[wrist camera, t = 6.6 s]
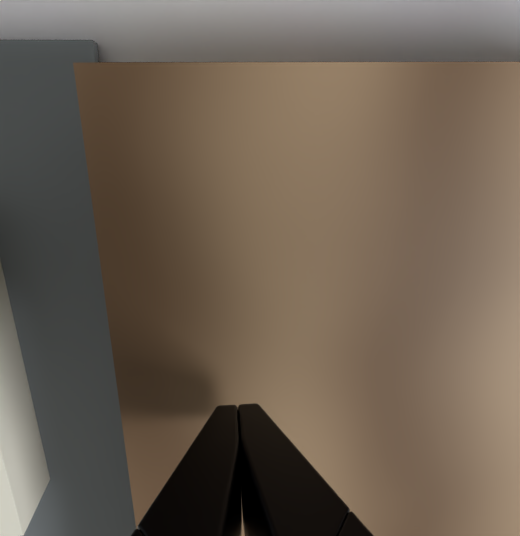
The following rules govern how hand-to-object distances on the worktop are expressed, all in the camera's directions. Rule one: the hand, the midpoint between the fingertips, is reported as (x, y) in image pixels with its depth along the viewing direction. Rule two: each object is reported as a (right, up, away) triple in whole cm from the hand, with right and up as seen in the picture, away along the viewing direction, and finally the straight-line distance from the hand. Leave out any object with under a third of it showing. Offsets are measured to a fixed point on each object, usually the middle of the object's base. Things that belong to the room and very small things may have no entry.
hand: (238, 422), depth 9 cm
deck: (+4, -2, +6) cm, 8 cm away
